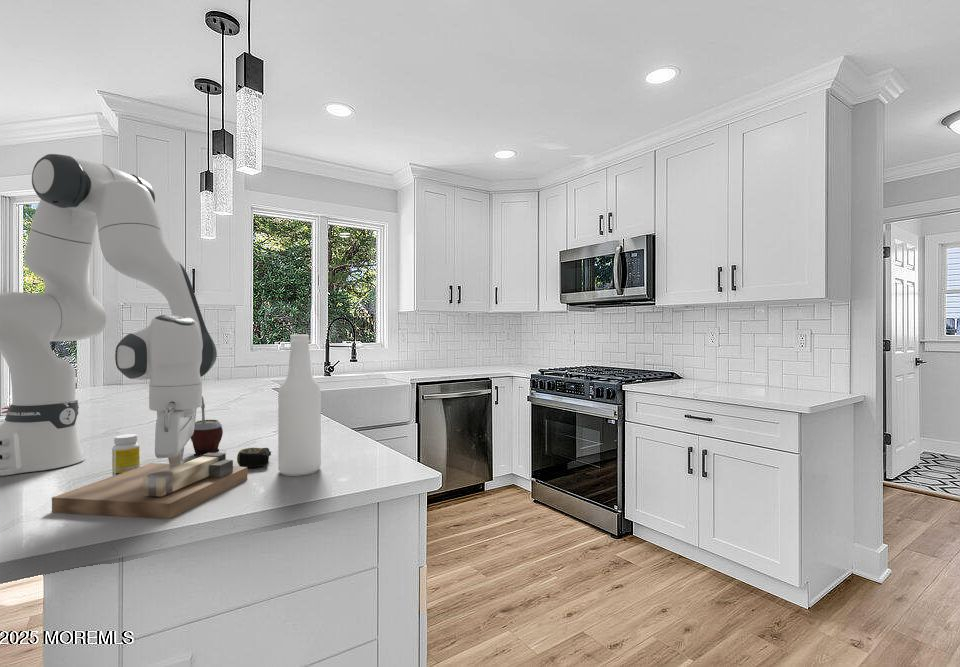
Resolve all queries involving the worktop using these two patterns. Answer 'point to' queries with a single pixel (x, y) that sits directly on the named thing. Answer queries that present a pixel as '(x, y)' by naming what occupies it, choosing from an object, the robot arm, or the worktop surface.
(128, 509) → the wooden cutting board
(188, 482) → the folding leg
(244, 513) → the worktop surface
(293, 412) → the alcohol
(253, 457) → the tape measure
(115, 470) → the supplement bottle
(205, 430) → the mate gourd
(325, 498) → the worktop surface
